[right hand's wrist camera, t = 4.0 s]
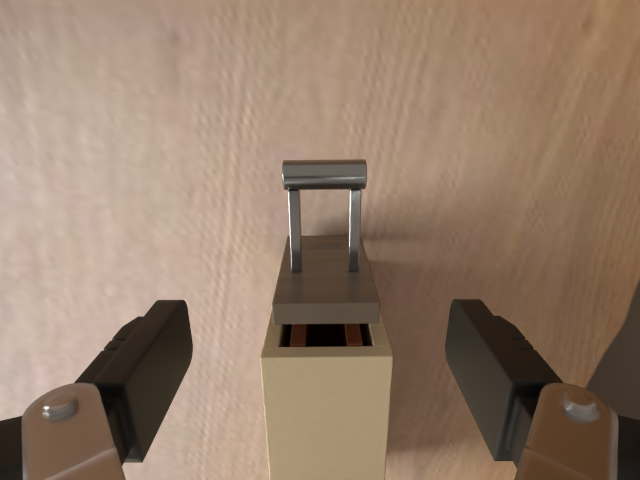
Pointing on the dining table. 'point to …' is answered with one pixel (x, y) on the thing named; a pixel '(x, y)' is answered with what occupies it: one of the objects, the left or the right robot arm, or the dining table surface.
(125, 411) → the right robot arm
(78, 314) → the dining table surface
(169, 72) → the dining table surface
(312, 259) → the drawer
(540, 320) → the dining table surface
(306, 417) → the cream rectangular box
